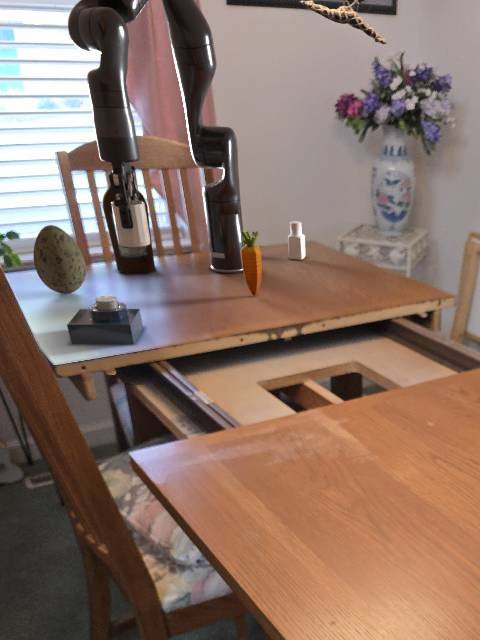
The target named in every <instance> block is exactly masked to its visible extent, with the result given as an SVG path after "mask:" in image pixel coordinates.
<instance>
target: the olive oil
mask: <svg viewBox="0 0 480 640" xmlns="http://www.w3.org/2000/svg"><path fill="white" fill-rule="evenodd" d="M110 167H111V169H110V172H113V171H112V163H111V162H110ZM132 186H133V185H132ZM138 193H139V197H137V198H138V200H139V201H143V202H144V204H145V210H146V216H147V223H148V229H149V235H150V244H149V245H147V246H142V247H124V246H120V245H119V243H118V239H117V233H116V228H115V222H114V217H113V211H112V206H111V202H114V199H113V194H112V189H111V184H110V185H109V186H108V187H107V189H106V190H105V192H104V194H103V197H102V210H103V214H104V218H105V222H106V225H107V230H108V234H109V239H110V243H111V247H112V251H113V256H114V260H115V264H116V270H117V271H118V272H119V273H122V274H127V275H140V274H146V273H150V272H153V271H154V270H155V268H156V265H155V258H154V257H155V256H154V252H153V251H154V250H153V242H152V234H151V227H150V226H151V225H150V216H149V215H150V214H149V209H148V203H147V201H146V199H145V196H144V195H143V194H142V192H141V191H139V190H138ZM120 200H124V198H123V197H121V198H120Z"/></svg>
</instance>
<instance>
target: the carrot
mask: <svg viewBox="0 0 480 640" xmlns="http://www.w3.org/2000/svg"><path fill="white" fill-rule="evenodd" d="M241 233H242V235H243V237H244V240H242V241H243V242H244V243H245V246H243V247H242V248H241V250H240V253H241V261H242V268H243V271H242V272H243V277H244V279H245V283H246V286H247V287H248V289H249V292H250V293H251V294H252V296H254V297H256V295H257V294H258V292H259V289H260V287H261V283H262V274H263V261H262V250H261V249H260V247H259V246H258V245H255V244H256V241H257V239H258V237H259V235H260V232H259V231H255V234H254V236H253V237H252V235H251V234H250V232H249V231H246V230H245V229H243V230H242V231H241Z"/></svg>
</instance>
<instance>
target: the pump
mask: <svg viewBox="0 0 480 640" xmlns="http://www.w3.org/2000/svg"><path fill="white" fill-rule="evenodd" d="M117 298H118V297H117V296H114V295H101V296H97V297H96V298H94V299H95V304H96V306H97V309H98V310H113V309H116V308H118V303H117V302H118V299H117Z"/></svg>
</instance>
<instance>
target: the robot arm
mask: <svg viewBox="0 0 480 640" xmlns="http://www.w3.org/2000/svg"><path fill="white" fill-rule="evenodd" d="M148 2H150V0H79V1H78V2H77V3H76V4H75V5H74V6H73V7H72V9H71V10H70V12H69V15H68V18H67V30H68V31H67V32H68V35H69V37H70V39H71V41H72V43H73V44H74V45H75V46H76V47H77V48H78V49H79V50H81V51H82V52H85V53H88V54H100V60H99V66H98V67H97V68H94V69H91V70H89V71H88V73H87V76H86V80H87V81H86V82H87V87H88V93H89V99H90V103H91V110H92V122H93V127H94V133H95V139H96V144H97V149H98V155H99V159H100V160H101V161H102V162H105V163H110V164H111V163H112V167H111V169H112V171H113V172H112V171H110V173H108V179H109V184H110V185H111V189H112V194H113V199H114V205H115V207H117V208H118V209H119V213H120V219H121V224H122V227H123V228H124V229H132V228H133V227H134V225H133V219H132V213H131V204H130V200H138V198H137V197H139V193H138V191H139V187H138V179H137V173H136V166H135V165H131V163H136V162H139V161H140V159H141V158H140V151H139V150H140V149H139V145H138V137H137V131H136V125H135V118H134V115H133V113H132V108H131V101H130V95H129V89H128V83H127V82H128V70H129V55H130V35H129V30H128V27H127V25H129V24H132V23H133V22H134V21H135V20H136V19H137V18H138V17H139V15H140V14H141V12H142V11H143V10H144V8H145V7H146V5H148ZM161 4H162V8H163V11H164V12H163V13H164V17H165V22H166V25H167V32H168V37H169V43H170V47H171V52H172V58H173V62H174V66H175V70H176V74H177V78H178V82H179V88H180V91H181V97H182V102H183V108H184V113H185V114H184V115H185V120H186V128H187V134H188V135H187V136H188V141H189V147H190V148H189V149H190V152H191V153H190V154H191V157H192V160H193V161H194V164H195V165H196V166H197V167H198V168H201V169H207V170H209V169H210V170H212V169H213V170H223V173H222V176H221V177H220V178H219V179H218V180H216V181H214V182H211V183H208V184H205V185H203V187H202V199H203V207H204V214H205V215H204V216H205V223H206V232H207V240H208V241H207V242H208V247H209V258H210V268H211V270H212V271H213V272H216V273H222V274H235V273H241V272H243V268H242V261H241V253H240V250H241V248H242V247H243V246H246V244H245V243H244V242H243V241H242V240H245V239H244V237H243V235H242V233H241V231H242V230H244V222H243V212H242V201H241V187H240V186H241V184H240V172H239V170H240V169H239V149H238V140H237V136H236V133H235V131H234V129H233V128H232V127H231V126H221V125H219V126H218V125H205V124H204V121H203V108H204V104H205V101H206V97H207V95H208V92H209V90H210V87H211V85H212V83H213V80H214V77H215V74H216V70H217V55H216V51H215V45H214V39H213V34H212V30H211V26H210V25H209V22H208V21H207V19H206V17H205V15H204V13H203V12H202V10H201V8H200V7H199V5H198V4H197V2H196V0H161ZM132 185H133V186H132ZM121 197H123V198H124V200H120V198H121ZM255 233H256V231H251V238H252V237H253V236H254V234H255Z"/></svg>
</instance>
